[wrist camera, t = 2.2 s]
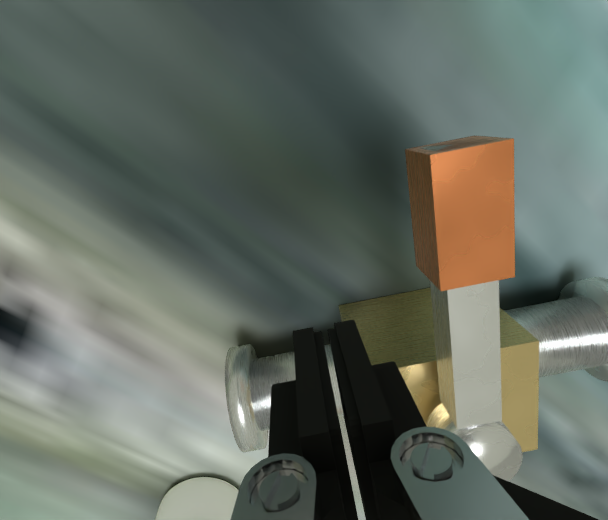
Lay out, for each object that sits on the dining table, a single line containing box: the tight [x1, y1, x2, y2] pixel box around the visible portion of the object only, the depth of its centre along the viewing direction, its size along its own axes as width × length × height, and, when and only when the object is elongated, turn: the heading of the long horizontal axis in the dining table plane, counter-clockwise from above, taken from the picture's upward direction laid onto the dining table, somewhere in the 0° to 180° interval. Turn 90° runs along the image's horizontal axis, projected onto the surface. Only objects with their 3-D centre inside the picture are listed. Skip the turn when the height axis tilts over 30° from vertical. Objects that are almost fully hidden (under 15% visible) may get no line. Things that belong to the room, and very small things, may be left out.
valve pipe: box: [225, 277, 608, 452], centre depth 25 cm, size 7×24×9 cm, turn 101°
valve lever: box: [405, 136, 523, 481], centre depth 17 cm, size 16×4×3 cm, turn 11°
